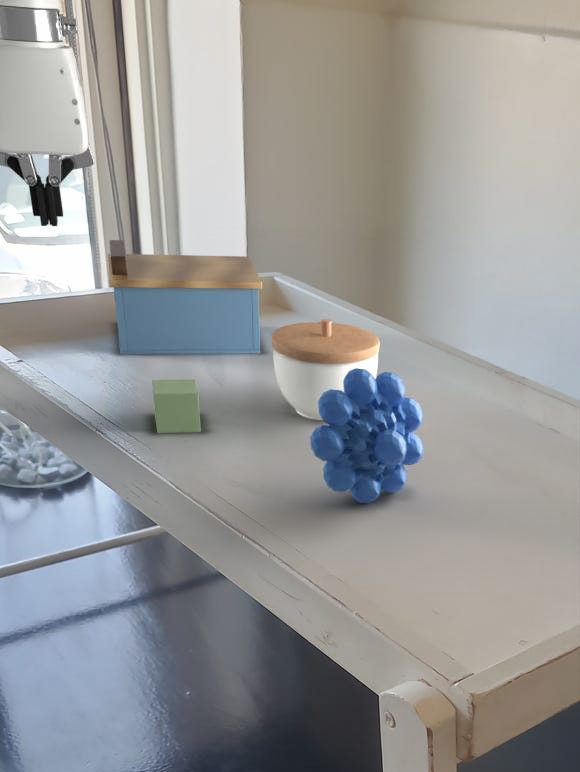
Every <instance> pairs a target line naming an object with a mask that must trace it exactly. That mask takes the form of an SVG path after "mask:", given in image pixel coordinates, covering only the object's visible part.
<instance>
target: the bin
mask: <svg viewBox="0 0 580 772" xmlns="http://www.w3.org/2000/svg"><path fill="white" fill-rule="evenodd" d="M113 296H114V304H115V305H114V306H115V314H116V323H117V333H118V342H119V343H118V344H119V351H120V352H119V353H120V355H199V354H201V355H205V354H206V355H207V354H208V355H209V354H212V355H213V354H214V355H215V354H219V355H220V354H261V336H260V335H261V334H260V333H261V331H260V301H259V289H214V288H125V287H113Z"/></svg>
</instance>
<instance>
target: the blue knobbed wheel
mask: <svg viewBox="0 0 580 772" xmlns="http://www.w3.org/2000/svg"><path fill="white" fill-rule="evenodd" d="M343 384H344V392H342V391H341V390H333V389H330V390H328V391H326V392H324V393H323V394H322V396H321V397H320V399H319V401H318V407H319V414H320V416H321V418H322V420H321V421H322V422H324V423H325V424H322V425H320V426H316V427H315V428H314V430H313V431H312V432H311V435H310V437H309V439H310V441H309V442H310V449H311V451H312V452H313V453H312V454H313V455H314V456H315V457H316V458H318V460H321V461H323V462H325V464H324V465H323V468H322V472H323V481H324V483H325V484H326V486H327V487H328V488H329V489H331V490H333V492H340V493H344V492H347V491H349V493H350V494H351V496H352V499H354V500H355V501H356V502H358V503H360V504H370V503H372V502H373V503H374V502H375V501H376V500H378V499H379V497H380V496H381V492H382V490H383V491H384V492H386V493H392V494H394V493H398V492H400V491H402V490H403V489H404V488H405V487H406V485H407V481H408V472H407V470H406V467H405V466H413V465H415V464H417V463H419V462H420V460H422V458H423V455H424V454H423V453H424V444H423V441H422V440H421V438H420V436H418V435H417V434H416V433H414V432H415V431H417V430H419V429H420V427H421V426H422V424H423V422H424V421H423V420H424V413H423V409H422V407H421V405H420V403H419V402H418V401H417V400H415V399H414V398H411V397H406V385H405V383H404V382H403V380H402V378H401V377H400V376H398V375H397V373H395V372H388V371H383V372H382V373H379V374H378V375H376V379H375V378H374V376H373V374H371V373H370V372H369V371H367V370H366V369H360V368H355V369H353V370H351V371H349V372H348V373H347V375H346V376H345V378H344V380H343Z"/></svg>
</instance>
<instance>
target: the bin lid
mask: <svg viewBox="0 0 580 772" xmlns="http://www.w3.org/2000/svg"><path fill="white" fill-rule="evenodd" d="M107 271H108V284H109V285H108V286H109V288H114V287H125V288H214V289H258V290H262V289H263V281H262V280H261V278H260V275H259V274H258V272H257V270H256V268H255V267H254V264H253V262H252V261H251V259H250V257H249V256H246V255H245V256H241V255H240V256H238V255H237V256H236V255H195V254H191V255H189V254H184V255H183V254H148V253H147V254H143V253H126V246H125V240H123V239H110V240H109V253H107Z"/></svg>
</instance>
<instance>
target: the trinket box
mask: <svg viewBox="0 0 580 772" xmlns="http://www.w3.org/2000/svg"><path fill="white" fill-rule="evenodd" d="M380 344H381V342H380V339H379V337H378V336H377V335H376V334H375V333H373V332H371V331H370V330H367V329H364V328H361V327H358V326H354V325H349V324H345V323H337V322H332V319H330V318H329V319H328V318H323V319H320V321H309V322H297V323H292V324H286V325H284V326H281V327H279V328H277V329H275V330H274V331H273V332H272V334H271V347H272V358H273V370H274V374H275V379H276V383H277V385H278V388H279V390H280V392H281V394H282V396H283V397H284V399H285V400H286V401H287V403H288V404H289V405H291V406H292V407H293V408H294V409H295V411H296V413H297V414H299V415H300V416H302V417H304V418H307V419H310V420H316V421H323V420H322V418H321V416H320V414H319V407H318V401H319V399H320V397H321V396H322V394H323V393H324V392H326V391H328V390H330V389H333V390H341V391H342V392H344V384H343V380H344V378H345V376H346V375H347V373H348V372H349V371H351V370H353V369H355V368H360V369H366V370H367V371H369V372H370V373H371V374H373V376H374V378H375V379H376V377H377V373H378V367H379V366H378V365H379V352H380V347H381V345H380Z"/></svg>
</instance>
